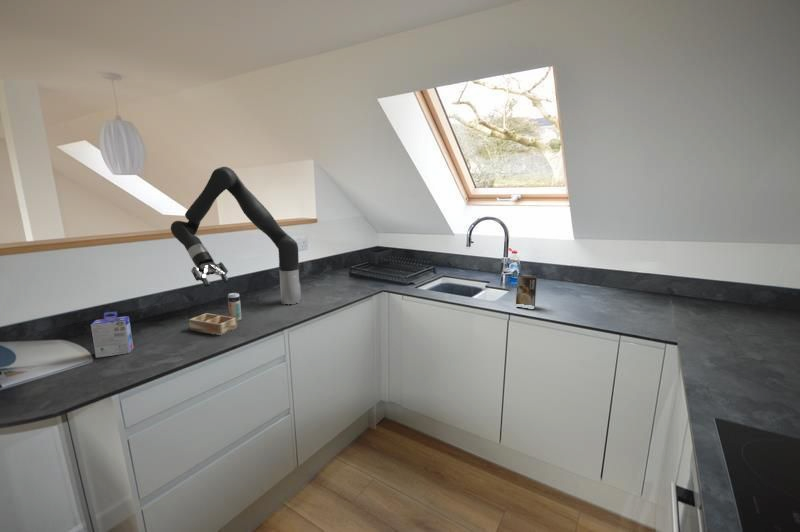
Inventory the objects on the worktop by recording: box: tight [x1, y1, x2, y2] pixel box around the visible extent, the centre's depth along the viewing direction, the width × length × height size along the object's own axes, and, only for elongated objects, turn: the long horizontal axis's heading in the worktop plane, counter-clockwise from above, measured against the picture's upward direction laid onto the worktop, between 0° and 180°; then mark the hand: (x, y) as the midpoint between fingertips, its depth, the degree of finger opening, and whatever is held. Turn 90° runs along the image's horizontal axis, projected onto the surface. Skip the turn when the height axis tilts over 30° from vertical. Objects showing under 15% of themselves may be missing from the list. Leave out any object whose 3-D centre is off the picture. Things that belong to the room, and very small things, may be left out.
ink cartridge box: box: [90, 310, 134, 358], centre depth 127 cm, size 10×6×14 cm, turn 115°
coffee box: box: [515, 273, 538, 307], centre depth 181 cm, size 9×6×16 cm
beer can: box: [227, 292, 243, 322], centre depth 160 cm, size 5×5×12 cm
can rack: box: [188, 312, 238, 336], centre depth 150 cm, size 9×16×4 cm, turn 70°
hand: (217, 283), depth 164 cm, fingers open, 8 cm apart
